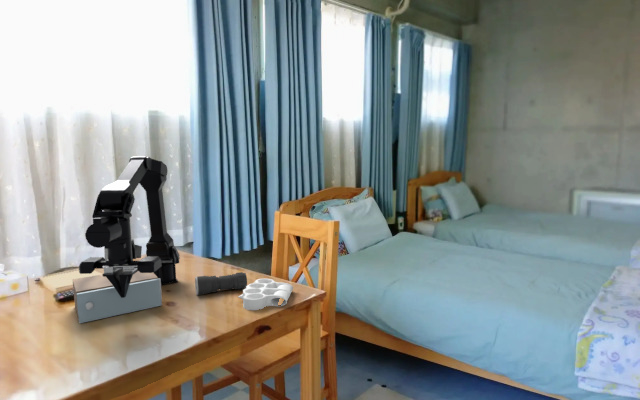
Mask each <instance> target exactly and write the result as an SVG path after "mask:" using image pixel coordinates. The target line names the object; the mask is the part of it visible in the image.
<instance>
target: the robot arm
mask: <svg viewBox="0 0 640 400" xmlns="http://www.w3.org/2000/svg"><path fill="white" fill-rule="evenodd" d="M167 175H168V167H167V165H166V164H165V163H164V162H163V161H162V160H158V159H154V158H151V157H150V156H146V155H137V156H136V155H135V156H131V157H129V161H128V164H127V165H126V166H125V168H124V169H123V171H122V172H121V173H120V175H119V177H118V178H117V179H116V181H114V182H112V183H109V184H107V185H105V186H104V187H103V188H102V189H101V190H100V191H99V192H98V193H99V194H98V195H97V197H96V202H95V205H94V208H93V211H92V212H93V213H92V224H90V225H89V226H88V227H87V229H86V231H85V233H84V234H85V235H84V236H85V240H86V242H87V244H89V245H90V246H92V247H94V248H99V249H100V248H101V249H102V248H103V247H104V249H107V253H108V260H106V261H105V256H104V257H103V256H100V257H99V256H95V257H94V256H93V257H92V256H90V257H88V258H87V259H84V260H82V261H81V262H80V263H79V264H78V273H79V274H80V275H82V274H83V275H84V274H85V275H86V274H93V272H94V271H95V269H96V270H98V269H99V270H101V269H103V273H102V274H101V275H103V277H107V279H108V280H109V281H110V282H111V283H112V285H113V286H114V288H115V289H116V291H117V292H118V294H119V295H120V297H121V298H125V297H126V294H127V291H128V287H129V284H130V281H131V278H132V276H133V274H135V273H136V272H137V271H139V272H140V273H154V274H155V275H156V276H157V277H158V278H160V279H161V286H163V285H167V284H168V285H169V284H173V283H178V281H179V280H178V279H177V272H176V271H177V270H176V268H177V267H176V265H177V264H180V259H181V258H180V253H179V251H178V249H177V247H176V246H175V244H174V239H173V238H172V236H171V235H170V234H169V233H168V230H167V221H166V213H165V212H166V211H165V203H164V194H163V193H164V192H163V188H164V186H165V184H166V182H167ZM138 185H140V186H141V187H142V188H143V190H144V191H145V194H146V196H145V197H146V203H147V211H148V220H149V227H150V237H149V239H148V241H147V243H146V245H145V248H146V251H145V256H144V257H142V248H143V247H142V245H139V244H135V240H134V238H132V231H131V228H132V227H131V219H130V218H132V216H133V215H132V213H131V211H132V210H133V207H134V204H135V200H136V199H135V195H134V192H135V190H136V188H137V187H138ZM136 259H140V260H136ZM124 264H127V265H124Z"/></svg>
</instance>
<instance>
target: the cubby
mask: <svg viewBox="0 0 640 400" xmlns="http://www.w3.org/2000/svg"><path fill="white" fill-rule="evenodd" d="M152 279H158V277H157V276H156V275H155V274H154V273H140V272H139V271H137V272H136V273H135V274H133V276H132V278H131V281H130V284H131V283H136V282H141V281H147V280H152ZM109 287H114V286H113V285H112V283H111V282H110V281H109V280H108V279H107V277H103V275H102V274H98V275H97V274H96V275H92V276H85V277H79V278H73V279H72V289H73V290H72V291H73V299H74V307H75V312H76V315H77V320H78V321H79V315H78V304H77V294H76V293H82V292H87V291H92V290H98V289H103V288H109Z"/></svg>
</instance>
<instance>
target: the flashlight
mask: <svg viewBox="0 0 640 400" xmlns="http://www.w3.org/2000/svg"><path fill="white" fill-rule="evenodd" d="M247 278H248V277H247V274H246V272H242V271H240V272H239V271H238V272H236V273H232V274H227V275H219V276H216V275H211V276H209V275H201V276H195V277H194V285H195V288H194V289H195V294H196V296H200V295H208V294H211V293H217V291H219V290H220V291H224V290H244V289H246V286H247V285H248V279H247Z"/></svg>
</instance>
